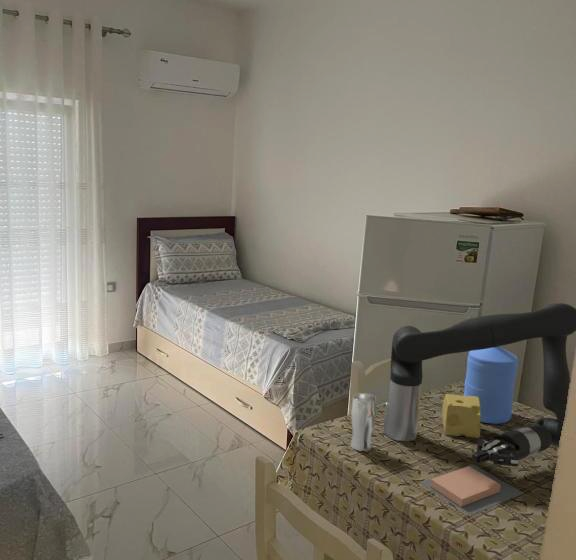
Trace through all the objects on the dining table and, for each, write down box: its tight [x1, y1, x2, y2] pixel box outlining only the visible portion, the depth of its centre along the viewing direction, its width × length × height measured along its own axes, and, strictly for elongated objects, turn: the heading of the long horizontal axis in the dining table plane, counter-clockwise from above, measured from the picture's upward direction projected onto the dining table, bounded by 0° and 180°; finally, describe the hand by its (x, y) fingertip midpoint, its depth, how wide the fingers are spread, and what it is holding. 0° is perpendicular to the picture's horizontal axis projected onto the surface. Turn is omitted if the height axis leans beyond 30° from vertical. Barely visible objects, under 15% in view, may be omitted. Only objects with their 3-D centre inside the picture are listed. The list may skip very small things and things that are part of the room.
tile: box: [430, 465, 501, 507], centre depth 143 cm, size 10×2×14 cm
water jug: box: [463, 346, 519, 425], centre depth 188 cm, size 16×16×28 cm
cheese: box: [441, 393, 482, 439], centre depth 177 cm, size 10×11×10 cm
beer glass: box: [350, 392, 377, 452], centre depth 163 cm, size 7×7×15 cm
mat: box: [419, 463, 524, 516], centre depth 144 cm, size 16×20×1 cm
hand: (474, 458), depth 143 cm, fingers closed
